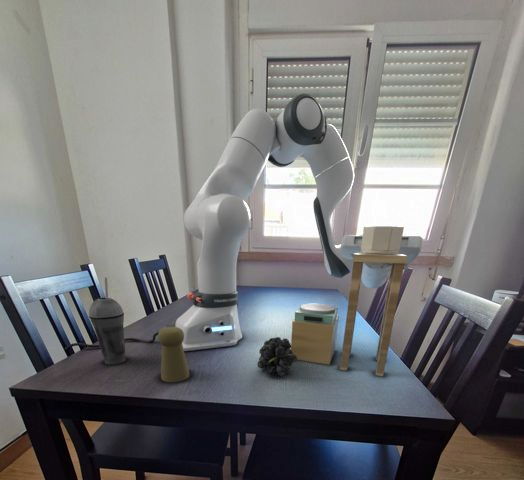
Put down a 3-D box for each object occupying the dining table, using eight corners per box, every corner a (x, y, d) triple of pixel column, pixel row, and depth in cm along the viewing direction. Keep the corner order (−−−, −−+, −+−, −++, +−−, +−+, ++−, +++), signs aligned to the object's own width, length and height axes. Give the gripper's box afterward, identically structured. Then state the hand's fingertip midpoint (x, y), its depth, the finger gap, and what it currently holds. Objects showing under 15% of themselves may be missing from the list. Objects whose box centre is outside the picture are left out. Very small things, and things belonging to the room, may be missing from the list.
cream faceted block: (399, 253, 57) (405, 226, 55) (359, 252, 60) (363, 226, 58) (394, 251, 74) (398, 230, 72) (363, 250, 76) (366, 230, 74)
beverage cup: (94, 360, 69) (76, 277, 62) (124, 353, 74) (110, 275, 67) (105, 369, 65) (87, 280, 57) (136, 360, 70) (123, 278, 62)
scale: (329, 364, 69) (335, 313, 65) (290, 358, 73) (293, 309, 68) (334, 351, 78) (340, 304, 73) (299, 346, 81) (302, 301, 77)
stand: (384, 376, 63) (407, 255, 54) (338, 369, 67) (353, 254, 57) (383, 358, 74) (402, 253, 64) (343, 353, 77) (356, 252, 68)
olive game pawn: (155, 379, 60) (148, 330, 56) (171, 368, 66) (166, 323, 62) (179, 384, 59) (174, 333, 55) (194, 372, 64) (190, 325, 60)
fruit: (268, 321, 71) (265, 339, 57) (299, 332, 72) (303, 353, 58) (257, 351, 74) (251, 375, 60) (286, 362, 75) (287, 388, 61)
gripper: (342, 247, 87) (341, 219, 74) (416, 248, 80) (429, 218, 67) (339, 266, 86) (337, 241, 73) (413, 269, 79) (426, 243, 66)
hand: (382, 230), depth 70 cm, fingers closed on cream faceted block
